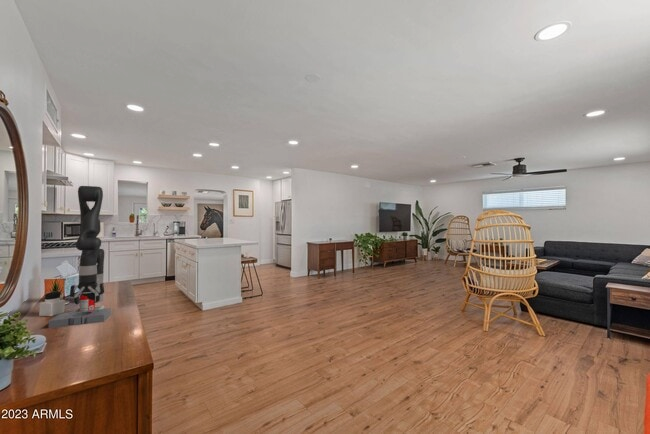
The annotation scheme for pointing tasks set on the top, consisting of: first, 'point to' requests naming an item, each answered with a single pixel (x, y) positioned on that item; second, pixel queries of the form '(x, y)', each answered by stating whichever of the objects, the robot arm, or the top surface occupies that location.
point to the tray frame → (95, 308)
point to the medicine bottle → (52, 304)
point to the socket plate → (79, 317)
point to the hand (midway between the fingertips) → (87, 303)
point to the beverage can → (87, 301)
